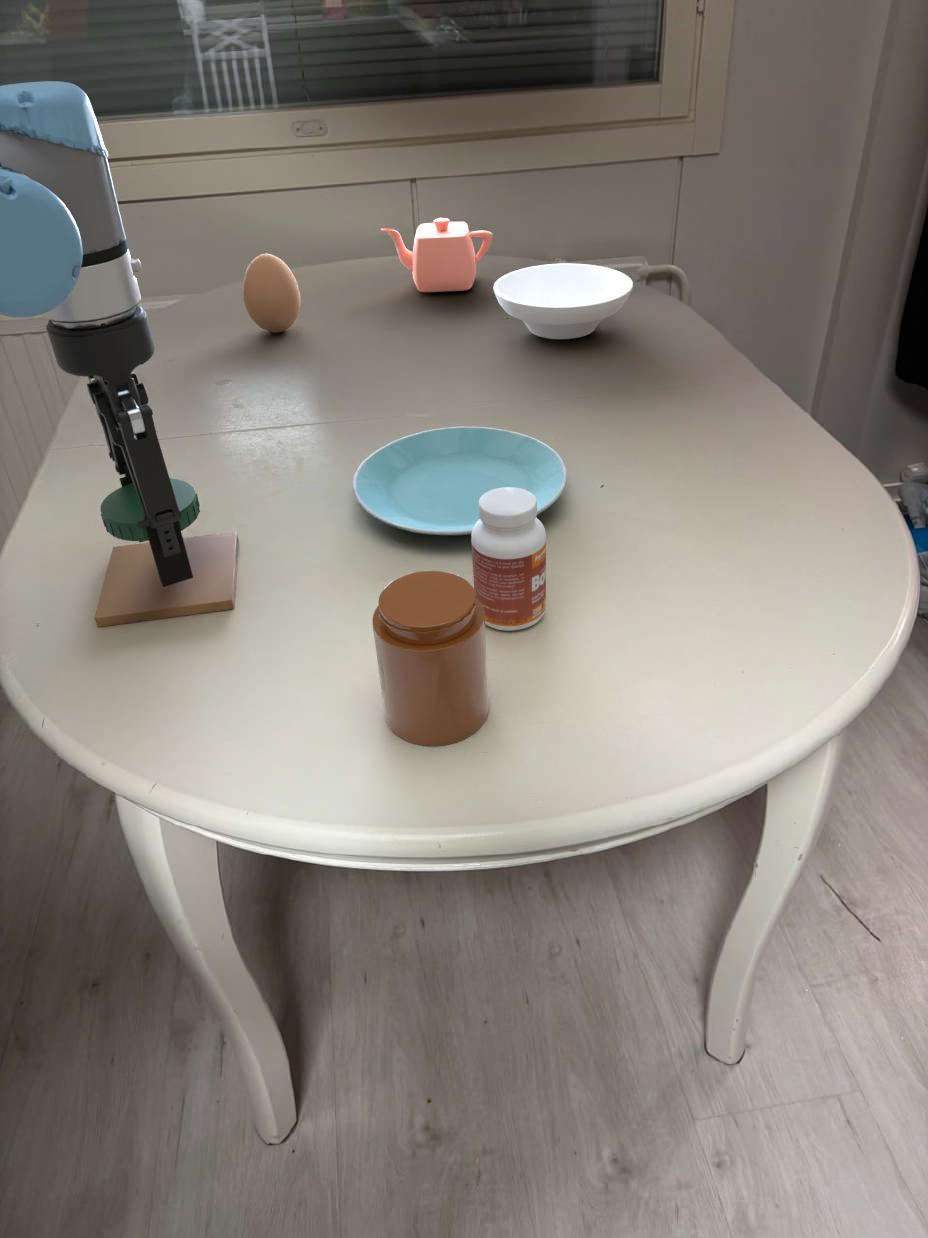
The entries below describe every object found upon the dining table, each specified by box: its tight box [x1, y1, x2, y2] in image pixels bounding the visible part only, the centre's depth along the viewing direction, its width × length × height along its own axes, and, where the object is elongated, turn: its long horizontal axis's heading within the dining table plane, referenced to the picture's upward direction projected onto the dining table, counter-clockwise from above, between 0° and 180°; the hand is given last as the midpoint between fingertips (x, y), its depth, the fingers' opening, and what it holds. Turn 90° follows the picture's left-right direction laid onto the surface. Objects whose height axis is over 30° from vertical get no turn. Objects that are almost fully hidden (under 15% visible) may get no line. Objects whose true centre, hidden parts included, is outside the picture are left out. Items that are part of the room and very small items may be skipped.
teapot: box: [380, 217, 494, 293], centre depth 151 cm, size 12×18×10 cm, turn 90°
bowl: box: [493, 263, 634, 340], centre depth 132 cm, size 20×20×7 cm
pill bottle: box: [470, 487, 547, 632], centre depth 77 cm, size 6×6×11 cm
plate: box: [352, 426, 568, 536], centre depth 96 cm, size 22×22×3 cm
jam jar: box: [371, 570, 490, 747], centre depth 68 cm, size 8×8×11 cm
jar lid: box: [99, 477, 201, 542], centre depth 82 cm, size 8×8×2 cm
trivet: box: [94, 531, 239, 628], centre depth 87 cm, size 12×12×1 cm
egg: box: [242, 253, 301, 333], centre depth 137 cm, size 8×8×11 cm
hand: (164, 557), depth 85 cm, fingers closed on jar lid, 8 cm apart
